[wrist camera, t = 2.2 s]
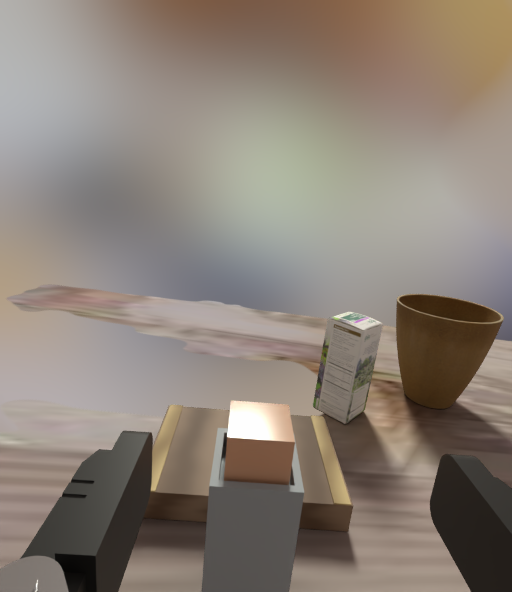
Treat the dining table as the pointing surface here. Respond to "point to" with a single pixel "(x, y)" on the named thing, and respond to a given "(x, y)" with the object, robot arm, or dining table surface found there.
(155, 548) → the dining table surface
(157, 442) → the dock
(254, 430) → the block
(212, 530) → the grey open box
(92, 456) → the robot arm
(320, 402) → the syrup box
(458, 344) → the plant pot
